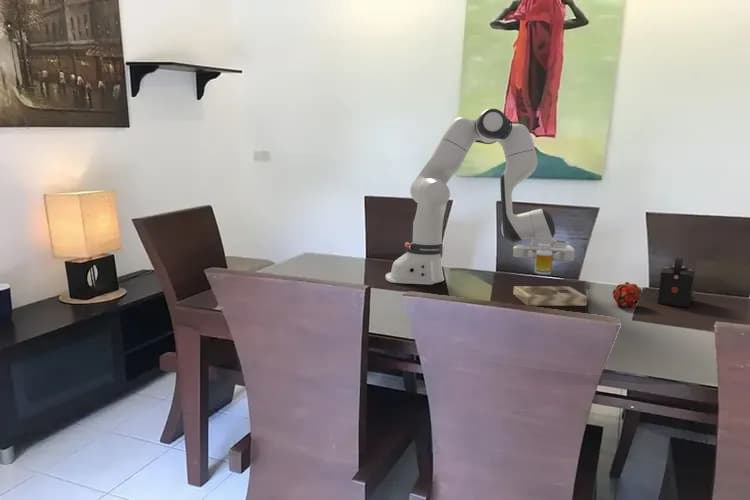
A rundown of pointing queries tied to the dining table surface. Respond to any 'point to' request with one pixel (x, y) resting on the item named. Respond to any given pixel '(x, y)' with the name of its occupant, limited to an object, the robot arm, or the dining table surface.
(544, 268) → the supplement bottle
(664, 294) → the camera
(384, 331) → the dining table surface
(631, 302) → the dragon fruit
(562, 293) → the holder block
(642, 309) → the dining table surface
